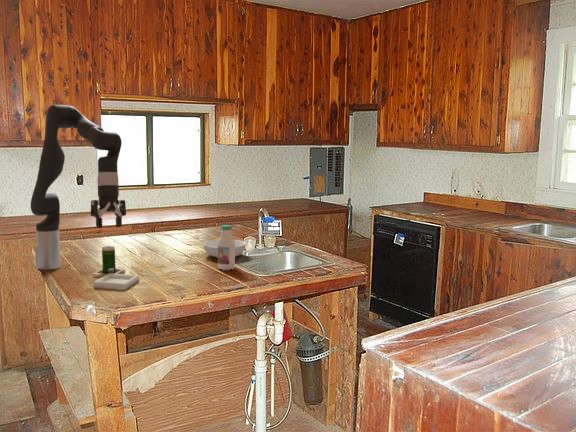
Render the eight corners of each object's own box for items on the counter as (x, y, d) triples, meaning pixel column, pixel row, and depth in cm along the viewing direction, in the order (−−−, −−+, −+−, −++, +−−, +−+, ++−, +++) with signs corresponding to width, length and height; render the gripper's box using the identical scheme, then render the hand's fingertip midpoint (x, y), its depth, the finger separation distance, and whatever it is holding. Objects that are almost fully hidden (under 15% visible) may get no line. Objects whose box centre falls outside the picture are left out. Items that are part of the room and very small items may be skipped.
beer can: (118, 274, 235) (117, 247, 233) (106, 277, 231) (105, 249, 229) (111, 272, 239) (110, 245, 237) (100, 274, 235) (99, 247, 233)
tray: (94, 287, 215) (94, 281, 215) (109, 279, 228) (109, 273, 228) (125, 290, 213) (125, 283, 213) (139, 281, 226) (139, 275, 226)
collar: (92, 277, 231) (92, 273, 231) (103, 271, 241) (103, 267, 240) (114, 278, 229) (114, 275, 229) (125, 272, 239) (125, 269, 239)
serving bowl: (195, 256, 273) (195, 242, 271) (227, 250, 288) (227, 237, 287) (222, 263, 259) (222, 249, 257) (254, 256, 274) (254, 243, 273)
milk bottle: (227, 265, 255) (227, 223, 252) (238, 268, 250) (238, 225, 246) (214, 268, 250) (214, 225, 247) (224, 271, 244) (224, 227, 241)
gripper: (117, 185, 214) (118, 226, 214) (85, 184, 202) (86, 228, 202) (129, 184, 210) (130, 226, 210) (98, 183, 198) (99, 228, 198)
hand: (109, 227), depth 206 cm, fingers open, 8 cm apart
